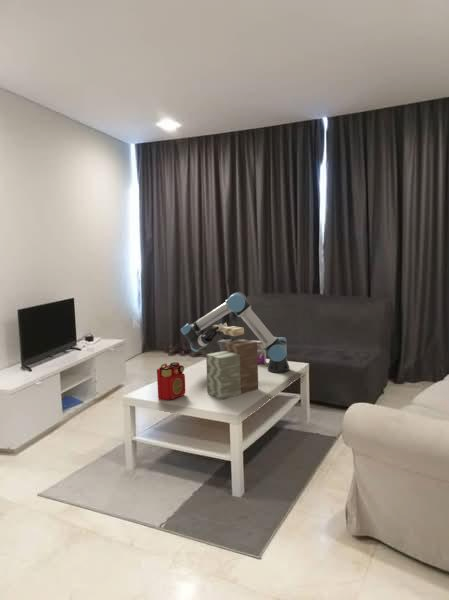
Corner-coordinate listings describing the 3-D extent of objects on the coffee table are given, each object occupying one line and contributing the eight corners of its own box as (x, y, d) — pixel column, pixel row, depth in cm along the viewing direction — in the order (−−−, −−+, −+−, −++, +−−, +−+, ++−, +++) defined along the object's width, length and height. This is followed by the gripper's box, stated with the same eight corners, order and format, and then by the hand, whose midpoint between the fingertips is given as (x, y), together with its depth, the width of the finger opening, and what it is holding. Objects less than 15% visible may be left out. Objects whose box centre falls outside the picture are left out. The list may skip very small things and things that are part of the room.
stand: (207, 393, 272) (205, 346, 268) (243, 384, 289) (242, 339, 285) (222, 399, 261) (220, 349, 257) (258, 389, 278) (257, 342, 274)
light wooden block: (210, 331, 292) (209, 325, 292) (219, 329, 297) (219, 323, 297) (234, 336, 274) (233, 329, 273) (244, 334, 279) (243, 327, 278)
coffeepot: (218, 362, 346) (217, 338, 344) (215, 359, 355) (214, 336, 353) (237, 360, 351) (237, 336, 349) (234, 357, 360) (233, 334, 358)
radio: (170, 401, 260) (169, 367, 257) (157, 399, 265) (155, 365, 263) (187, 393, 273) (186, 361, 271) (174, 391, 278) (172, 359, 276)
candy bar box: (250, 363, 340) (249, 341, 338) (251, 361, 344) (251, 340, 343) (264, 364, 336) (264, 342, 334) (266, 362, 341) (265, 340, 339)
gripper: (217, 342, 308) (236, 328, 291) (197, 345, 298) (216, 332, 281) (213, 332, 310) (232, 317, 293) (193, 335, 300) (211, 321, 283)
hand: (224, 324), depth 287 cm, fingers closed on light wooden block, 3 cm apart
